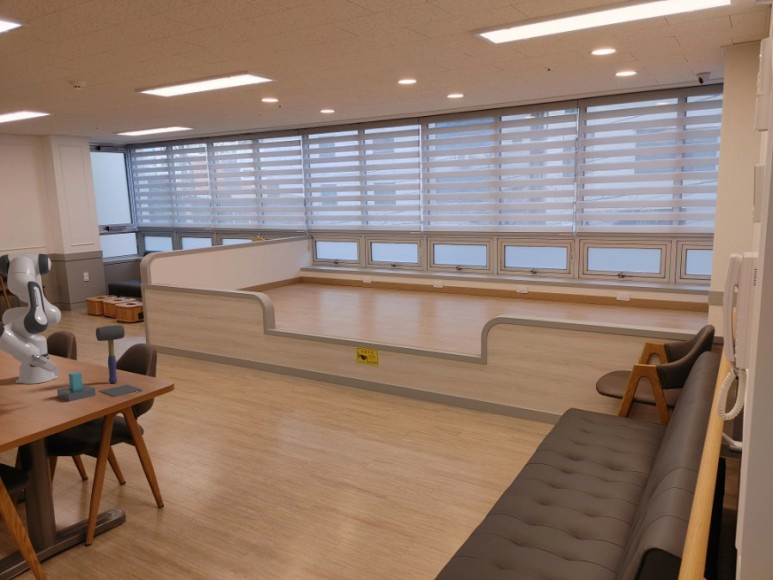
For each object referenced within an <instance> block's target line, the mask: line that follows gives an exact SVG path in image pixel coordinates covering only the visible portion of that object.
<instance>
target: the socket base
mask: <svg viewBox="0 0 773 580" xmlns="http://www.w3.org/2000/svg"><path fill="white" fill-rule="evenodd" d="M56 391H57V393H56V395H57V398H58V399H59V398H60V399H61V400H64V401H66V402H73V401H78V400H83V399H87V398H90V397H95V396H96V388H95V387H94V386H90V385H87V384H85V383H82V389H80V390H76V391H71V390H70V386H68V387H61V388H58V389H57V390H56Z"/></svg>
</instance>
